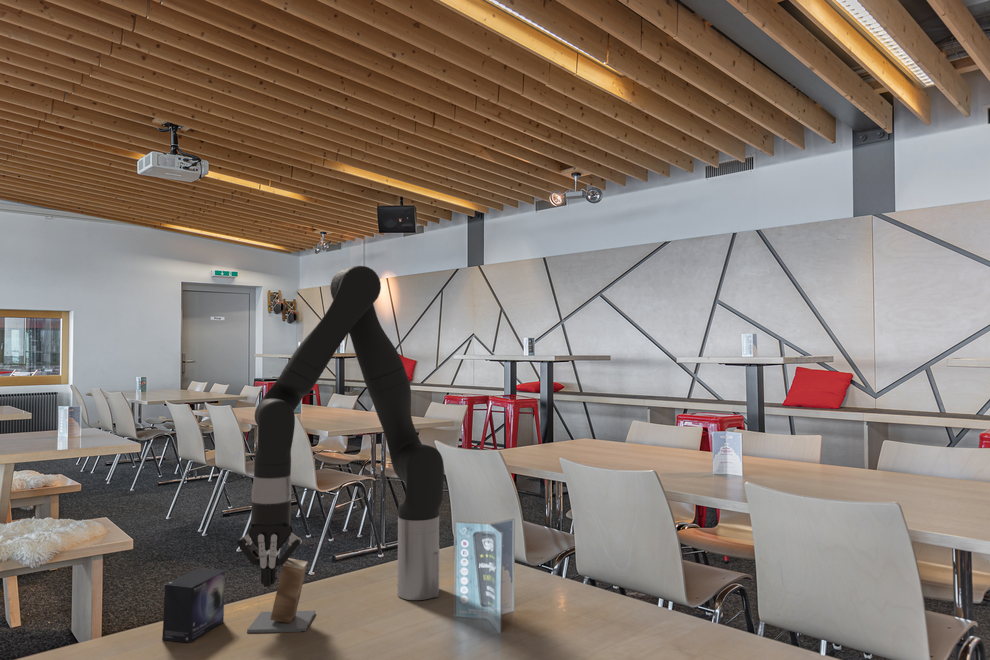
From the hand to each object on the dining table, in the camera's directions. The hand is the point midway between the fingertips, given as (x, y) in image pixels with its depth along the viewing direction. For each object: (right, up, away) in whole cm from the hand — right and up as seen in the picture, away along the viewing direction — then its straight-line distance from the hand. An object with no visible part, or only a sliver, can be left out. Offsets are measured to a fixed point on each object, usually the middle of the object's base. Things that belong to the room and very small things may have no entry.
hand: (268, 585), depth 132 cm
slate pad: (+3, -7, 0) cm, 8 cm away
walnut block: (+3, -6, 0) cm, 7 cm away
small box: (-13, -7, -4) cm, 16 cm away
